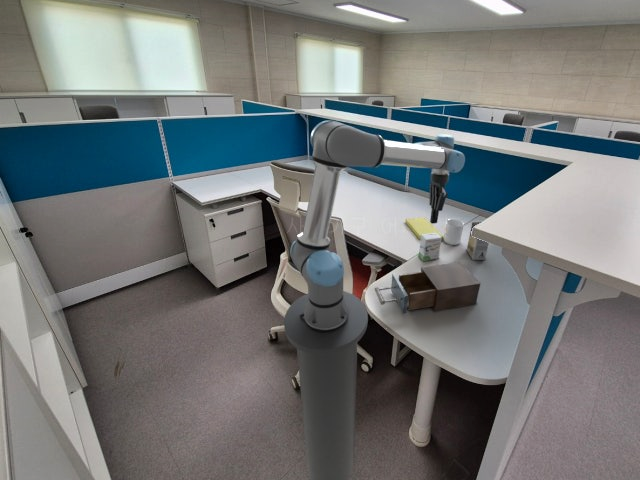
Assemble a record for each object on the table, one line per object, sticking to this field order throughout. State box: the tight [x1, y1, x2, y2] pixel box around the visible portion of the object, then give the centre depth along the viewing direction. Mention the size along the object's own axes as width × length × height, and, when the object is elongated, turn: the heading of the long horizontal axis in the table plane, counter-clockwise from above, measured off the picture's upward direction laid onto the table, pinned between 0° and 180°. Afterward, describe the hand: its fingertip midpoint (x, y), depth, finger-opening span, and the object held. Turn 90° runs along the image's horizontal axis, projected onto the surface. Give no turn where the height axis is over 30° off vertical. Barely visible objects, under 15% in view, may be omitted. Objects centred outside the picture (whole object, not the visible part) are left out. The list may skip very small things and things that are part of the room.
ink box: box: [418, 233, 442, 262], centre depth 142 cm, size 8×5×12 cm, turn 109°
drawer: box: [374, 271, 437, 314], centre depth 114 cm, size 24×13×8 cm, turn 106°
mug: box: [443, 218, 465, 246], centre depth 159 cm, size 12×9×11 cm
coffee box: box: [466, 221, 490, 261], centre depth 145 cm, size 9×6×16 cm
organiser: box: [420, 261, 481, 312], centre depth 118 cm, size 18×15×10 cm
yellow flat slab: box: [405, 217, 444, 241], centre depth 169 cm, size 12×2×24 cm
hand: (433, 222), depth 137 cm, fingers closed
